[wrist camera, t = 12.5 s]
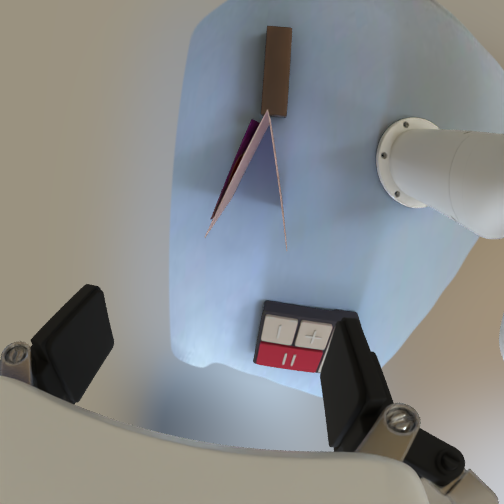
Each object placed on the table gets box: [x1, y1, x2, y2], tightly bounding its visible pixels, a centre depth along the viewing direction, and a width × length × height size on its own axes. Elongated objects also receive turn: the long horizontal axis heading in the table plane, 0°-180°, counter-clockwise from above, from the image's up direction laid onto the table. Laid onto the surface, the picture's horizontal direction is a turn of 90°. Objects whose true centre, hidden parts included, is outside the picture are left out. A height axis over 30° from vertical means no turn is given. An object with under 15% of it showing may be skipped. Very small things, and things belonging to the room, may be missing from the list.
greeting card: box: [205, 110, 287, 249], centre depth 29 cm, size 11×7×15 cm, turn 154°
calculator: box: [253, 301, 361, 373], centre depth 43 cm, size 11×4×15 cm
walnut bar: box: [261, 26, 292, 118], centre depth 29 cm, size 3×12×2 cm, turn 177°
